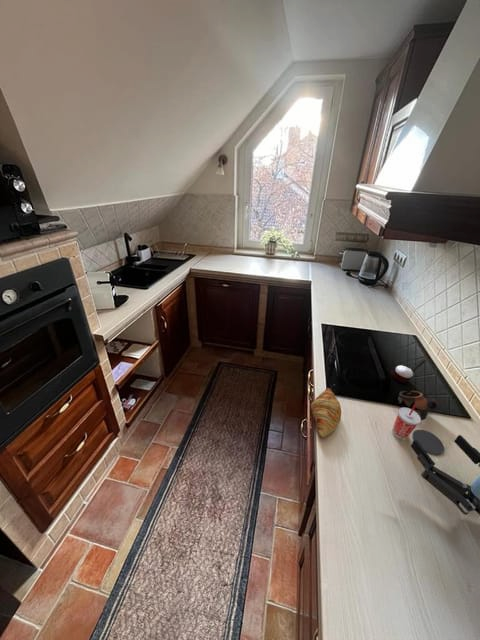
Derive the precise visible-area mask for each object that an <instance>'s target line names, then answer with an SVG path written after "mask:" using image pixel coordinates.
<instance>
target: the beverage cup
mask: <svg viewBox="0 0 480 640" xmlns="http://www.w3.org/2000/svg"><path fill="white" fill-rule="evenodd" d="M416 405H417V404H415V403H414V404H413V406H412V408H410V407H405V406H404V407H400V408H399V409H398V411H397V416H396V418H395V421H394V422H393V425H392V428H391V433H392V435H393V436H394V437H395V438H396V439H399V440H402V441H404V440H407V439H408V438H409V436H410V435H411V433H413V432H414V429H415V428H416V427H417V426H419V424H420V423H421V421H422V420H421V418H420V416H419V415H418V414H419V413H417V411H415V408H416V407H415V406H416Z"/></svg>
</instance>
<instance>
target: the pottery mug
mask: <svg viewBox="0 0 480 640" xmlns="http://www.w3.org/2000/svg"><path fill="white" fill-rule="evenodd" d="M397 400H398V403H399V405H400V404H402V403H403V402H404V403H405V404H406V406H407V407H408V408H410V407H411V405H412V404H413V403H414V404H417V405H416V406H415V408H416V409H417V410H418V411H419V413H417V414H418V415H419V416H420V418H421V421H424V420H426V419H427V417H428V414H429V413H430V412H432V411H435V410H437V408H438V407H439V403H438V401H437V400H436V399H434V398H428V397H427V398H426V397H425V396H424V394H423V392H420V391H416V390H410V392H409V391H408V390H402V391H399V394H398V397H397ZM430 404H431V405H430Z"/></svg>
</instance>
